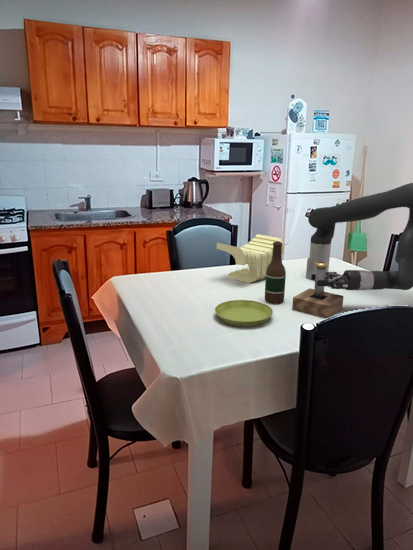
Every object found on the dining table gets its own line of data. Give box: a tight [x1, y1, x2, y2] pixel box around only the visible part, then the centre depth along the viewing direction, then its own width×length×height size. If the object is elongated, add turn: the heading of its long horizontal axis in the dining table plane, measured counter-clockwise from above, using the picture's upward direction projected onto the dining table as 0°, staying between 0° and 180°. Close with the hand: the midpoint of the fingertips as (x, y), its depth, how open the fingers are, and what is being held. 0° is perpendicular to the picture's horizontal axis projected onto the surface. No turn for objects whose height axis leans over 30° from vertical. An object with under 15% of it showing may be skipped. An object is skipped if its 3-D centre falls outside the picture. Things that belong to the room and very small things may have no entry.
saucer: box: [214, 299, 274, 327], centre depth 149 cm, size 21×21×3 cm
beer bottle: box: [264, 242, 287, 305], centre depth 162 cm, size 8×8×24 cm
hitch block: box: [291, 288, 344, 320], centre depth 157 cm, size 14×14×5 cm
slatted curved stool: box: [216, 233, 285, 284], centre depth 194 cm, size 30×16×18 cm, turn 136°
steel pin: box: [313, 262, 328, 300], centre depth 155 cm, size 5×5×18 cm
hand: (314, 280), depth 154 cm, fingers open, 7 cm apart
